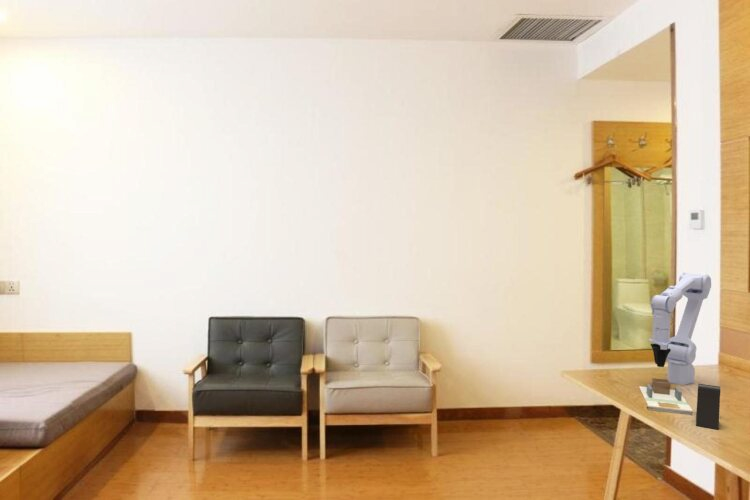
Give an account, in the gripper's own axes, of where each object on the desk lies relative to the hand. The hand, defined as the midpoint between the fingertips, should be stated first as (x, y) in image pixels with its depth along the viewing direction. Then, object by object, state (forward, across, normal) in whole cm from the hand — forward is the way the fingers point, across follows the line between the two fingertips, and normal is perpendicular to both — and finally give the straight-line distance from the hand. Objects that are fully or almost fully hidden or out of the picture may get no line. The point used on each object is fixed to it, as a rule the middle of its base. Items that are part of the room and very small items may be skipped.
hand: (659, 365), depth 211 cm
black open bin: (+10, +31, +9) cm, 34 cm away
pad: (+10, +16, 0) cm, 19 cm away
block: (+8, +5, 0) cm, 10 cm away
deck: (+10, +12, 0) cm, 16 cm away
